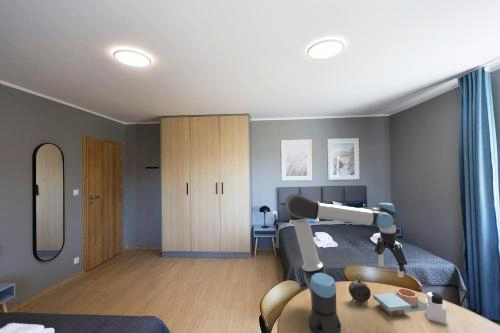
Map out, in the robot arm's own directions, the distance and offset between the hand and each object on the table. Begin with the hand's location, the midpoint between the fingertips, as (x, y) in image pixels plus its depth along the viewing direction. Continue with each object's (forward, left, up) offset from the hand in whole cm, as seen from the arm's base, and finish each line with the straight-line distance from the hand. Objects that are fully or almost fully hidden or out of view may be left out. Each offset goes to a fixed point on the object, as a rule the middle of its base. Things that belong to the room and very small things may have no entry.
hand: (390, 271), depth 118 cm
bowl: (+14, +5, -20) cm, 25 cm away
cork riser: (0, 0, -21) cm, 21 cm away
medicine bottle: (+17, -9, -21) cm, 28 cm away
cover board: (0, 0, -17) cm, 17 cm away
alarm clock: (-12, +9, -21) cm, 26 cm away
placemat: (+14, +5, -21) cm, 25 cm away
